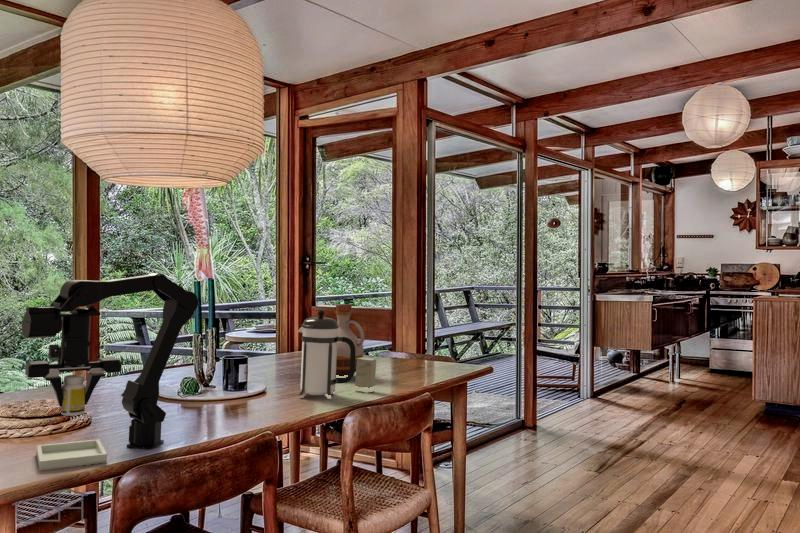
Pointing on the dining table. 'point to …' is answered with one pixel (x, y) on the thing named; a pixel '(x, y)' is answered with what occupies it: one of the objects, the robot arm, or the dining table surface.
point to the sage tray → (70, 454)
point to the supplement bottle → (73, 395)
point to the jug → (344, 348)
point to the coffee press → (322, 355)
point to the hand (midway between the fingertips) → (73, 405)
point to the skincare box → (365, 372)
